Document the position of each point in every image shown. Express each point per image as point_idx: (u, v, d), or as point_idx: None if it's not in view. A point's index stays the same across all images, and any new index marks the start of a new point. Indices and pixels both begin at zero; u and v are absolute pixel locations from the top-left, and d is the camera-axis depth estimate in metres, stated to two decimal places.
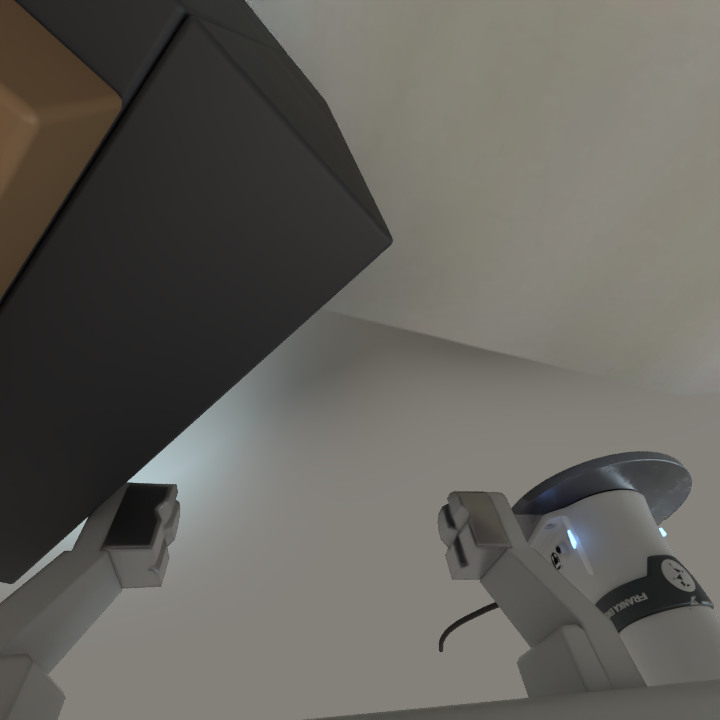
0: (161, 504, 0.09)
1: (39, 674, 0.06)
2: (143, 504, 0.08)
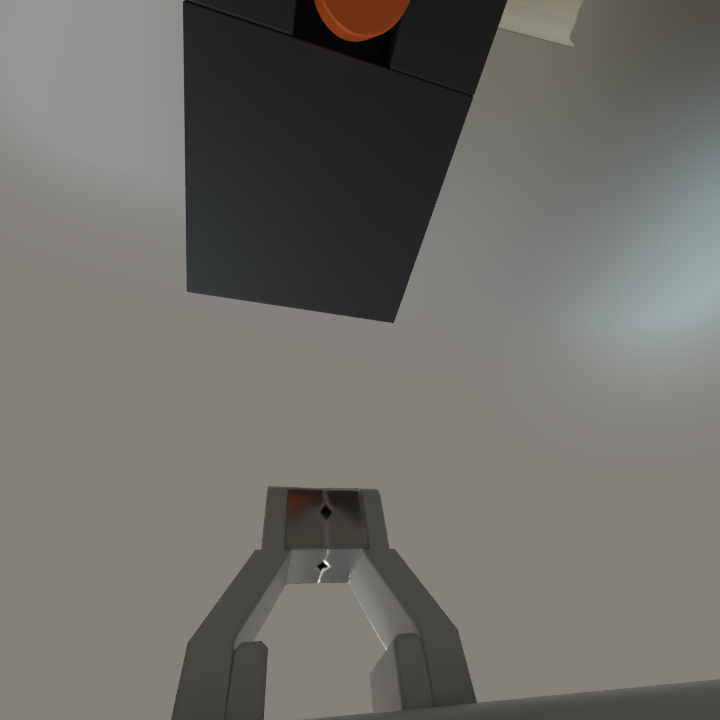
0: (322, 507, 0.09)
1: (266, 659, 0.07)
2: (306, 507, 0.09)
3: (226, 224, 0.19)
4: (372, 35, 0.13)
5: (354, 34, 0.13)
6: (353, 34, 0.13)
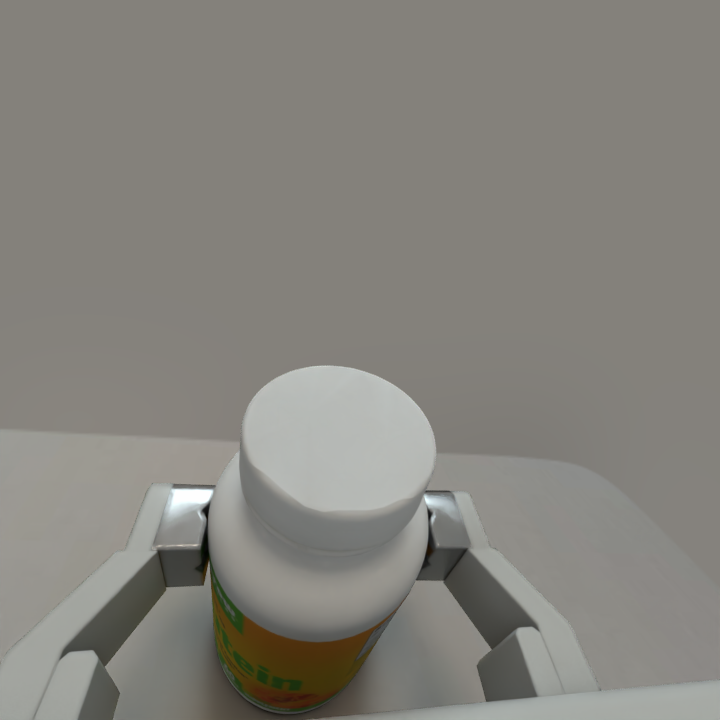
0: (205, 505, 0.09)
1: (103, 670, 0.06)
2: (188, 505, 0.09)
3: None
4: None
5: None
6: None
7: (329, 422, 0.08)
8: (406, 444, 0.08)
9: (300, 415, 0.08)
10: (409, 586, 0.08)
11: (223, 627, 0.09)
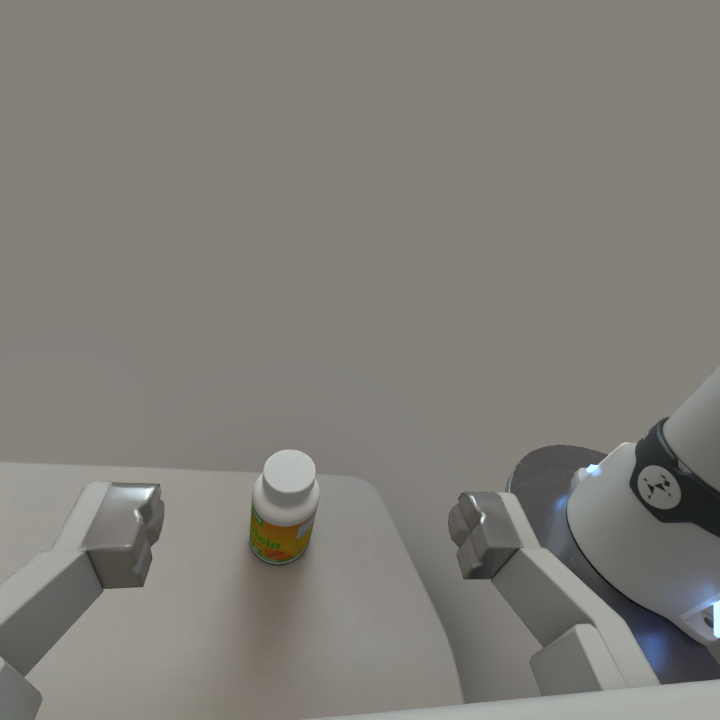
0: (143, 504, 0.08)
1: (12, 676, 0.06)
2: (124, 504, 0.08)
3: None
4: None
5: None
6: None
7: (286, 469, 0.29)
8: (306, 475, 0.29)
9: (278, 467, 0.29)
10: (309, 513, 0.29)
11: (256, 528, 0.30)
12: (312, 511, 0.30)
